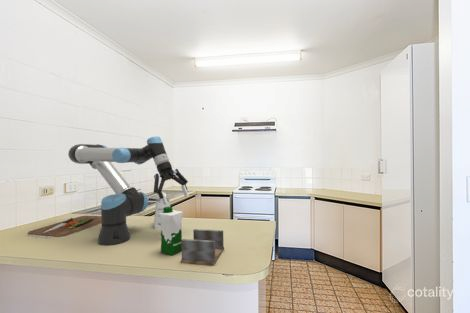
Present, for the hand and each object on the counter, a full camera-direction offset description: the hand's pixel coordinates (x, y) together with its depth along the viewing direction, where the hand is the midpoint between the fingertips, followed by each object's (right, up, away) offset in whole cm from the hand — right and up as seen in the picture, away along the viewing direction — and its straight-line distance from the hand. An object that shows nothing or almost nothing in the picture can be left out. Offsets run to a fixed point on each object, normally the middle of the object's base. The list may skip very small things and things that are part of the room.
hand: (176, 200), depth 129 cm
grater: (-14, -21, +24) cm, 35 cm away
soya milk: (+2, -21, -17) cm, 27 cm away
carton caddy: (+17, -20, -22) cm, 35 cm away
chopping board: (-73, -22, +28) cm, 81 cm away
